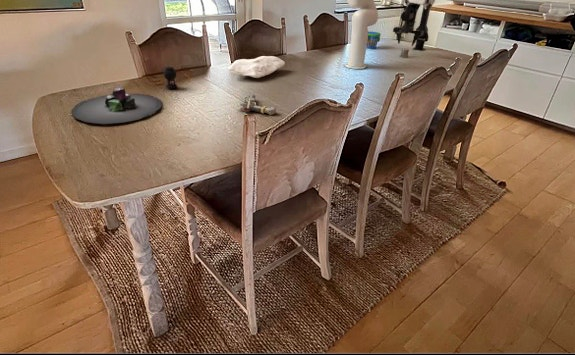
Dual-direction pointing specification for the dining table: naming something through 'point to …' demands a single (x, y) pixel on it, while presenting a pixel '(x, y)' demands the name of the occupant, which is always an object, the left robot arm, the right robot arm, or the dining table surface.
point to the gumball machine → (170, 77)
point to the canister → (404, 52)
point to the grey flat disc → (116, 108)
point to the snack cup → (373, 39)
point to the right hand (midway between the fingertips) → (405, 45)
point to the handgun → (255, 106)
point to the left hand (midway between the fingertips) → (415, 16)
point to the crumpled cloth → (256, 66)
